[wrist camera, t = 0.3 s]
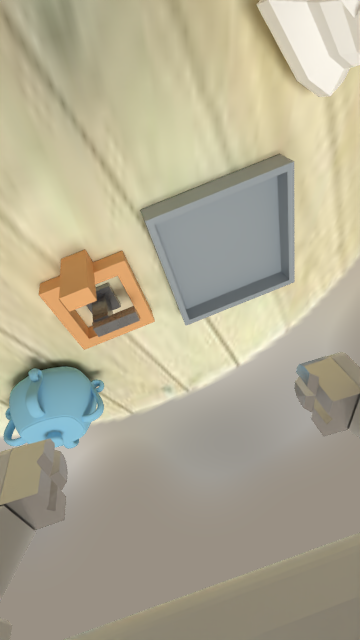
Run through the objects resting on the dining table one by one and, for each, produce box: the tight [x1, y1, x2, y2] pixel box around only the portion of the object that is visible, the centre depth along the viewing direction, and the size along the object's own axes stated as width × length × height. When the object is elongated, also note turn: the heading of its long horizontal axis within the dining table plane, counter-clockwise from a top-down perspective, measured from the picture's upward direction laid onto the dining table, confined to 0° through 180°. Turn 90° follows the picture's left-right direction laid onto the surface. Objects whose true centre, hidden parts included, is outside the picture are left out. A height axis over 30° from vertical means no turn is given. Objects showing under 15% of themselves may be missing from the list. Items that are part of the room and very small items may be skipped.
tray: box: [140, 154, 294, 325], centre depth 50 cm, size 22×22×4 cm
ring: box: [39, 250, 155, 350], centre depth 48 cm, size 16×14×10 cm
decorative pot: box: [4, 366, 104, 448], centre depth 59 cm, size 16×16×14 cm
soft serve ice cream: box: [257, 0, 360, 97], centre depth 31 cm, size 12×15×14 cm
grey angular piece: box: [87, 283, 140, 337], centre depth 50 cm, size 5×8×8 cm, turn 106°
